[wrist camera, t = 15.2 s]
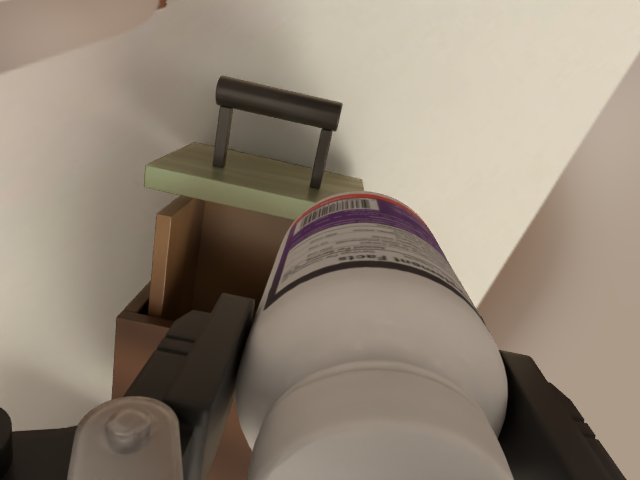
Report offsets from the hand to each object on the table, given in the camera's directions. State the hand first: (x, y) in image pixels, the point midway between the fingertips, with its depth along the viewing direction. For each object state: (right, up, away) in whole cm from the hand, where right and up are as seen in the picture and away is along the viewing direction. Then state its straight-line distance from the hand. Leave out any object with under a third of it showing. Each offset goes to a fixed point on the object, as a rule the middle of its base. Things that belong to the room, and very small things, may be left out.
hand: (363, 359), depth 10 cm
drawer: (-5, +4, +21) cm, 22 cm away
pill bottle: (0, +2, +5) cm, 6 cm away
